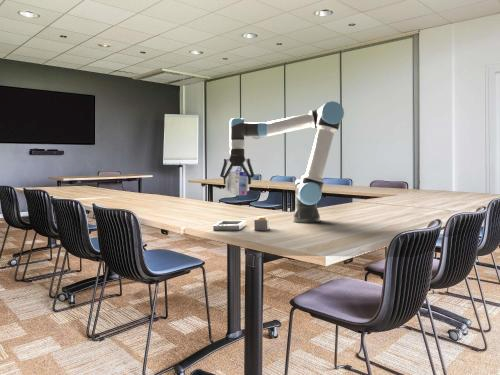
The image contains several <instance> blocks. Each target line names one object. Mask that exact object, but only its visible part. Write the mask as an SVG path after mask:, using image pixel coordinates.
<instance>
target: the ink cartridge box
mask: <svg viewBox="0 0 500 375" xmlns="http://www.w3.org/2000/svg"><path fill="white" fill-rule="evenodd" d="M242 170H243V169H242V167H241V166H237V168H236V169H235V171H230V172H229V175H228V176H227V178H228V191H227V194H228V195H229V196H247V195H248V191H247V178H248V177H247V175H246V172H244V171H242Z"/></svg>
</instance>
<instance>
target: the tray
mask: <svg viewBox="0 0 500 375" xmlns="http://www.w3.org/2000/svg"><path fill="white" fill-rule="evenodd" d="M246 225H247V224H246V220H221V221H218V222H217V223H215V224H213V226H212V227H213V228H212V229H213V231H240V230H242V227H243V228H244V227H246Z"/></svg>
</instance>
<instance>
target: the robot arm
mask: <svg viewBox="0 0 500 375" xmlns="http://www.w3.org/2000/svg"><path fill="white" fill-rule="evenodd" d="M344 115H345V110H344V107H343V105H341V104H340V103H339V102H337V101H332V100H331V101H327V102H325V103H324V104H322V106H320V107H319V108H317V109H315V110H310V111H309V113H305V114H300V115H295V116H289V117H286V118H280V119H276V120H271V121H267V122H261V121H260V122H259V121H257V122H255V121H254V122H250V121H249V122H245V119H244V118H242V117H234V118H231V119H230V120H229V148H230V149H229V158H224V159H223V165H222V168H221V171H220V175H219V176H220V178H223V185H225V192H228V175H229V172H232V169H233V168H234V167H242V169H241V170H243V172H246V175H247V192H249V191H250V185H251V184H252V178H254V177H255V173H254V170H253V167H252V164H251V161H252V160H251V158H246V157H245V149H244V148H245V138H248V137H249V138H252V139H254V140H259V139H261V138H265V137H270V136H275V135H280V134H285V133H289V132H290V133H291V132H294V131H299V130H303V129H307V128H312V129H316V128H317V132H316V135H315V138H314V142H313V146H312V149H311V153H310V157H309V159H308V164H307V167H306V172H305V173H304V175H301V178H300V179H296V180H295V182H294V183H295V184H294V187H295V190H294V191H295V192H294V193H295V209H294V211H293V216H292V222H295V223H302V224H303V223H304V224H305V223H306V224H307V223H309V224H310V223H317V222H318V223H319V222H320V221H321V215H320V212H319V210H318V202H320V200H321V198H322V194H323V192H322V191H323V186H324V183H325V181H324V180H323V176H324V171H325V168H326V164H327V161H328V157H329V153H330V150H331V147H332V141H333V139H334V136H335V135H334V134H335V133H337V132H338V131H339V128H340V125H341V122H342V120H343V119H344V117H345V116H344ZM229 162H230V165H229V166H228V163H229ZM244 163H246V164H247V167H248V169H247V167H246V165H245V164H244ZM227 167H228V168H227ZM249 172H250V173H249Z"/></svg>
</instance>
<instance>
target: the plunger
mask: <svg viewBox="0 0 500 375" xmlns="http://www.w3.org/2000/svg"><path fill="white" fill-rule="evenodd" d="M257 218H258V220H265V218H266V216H257Z"/></svg>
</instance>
